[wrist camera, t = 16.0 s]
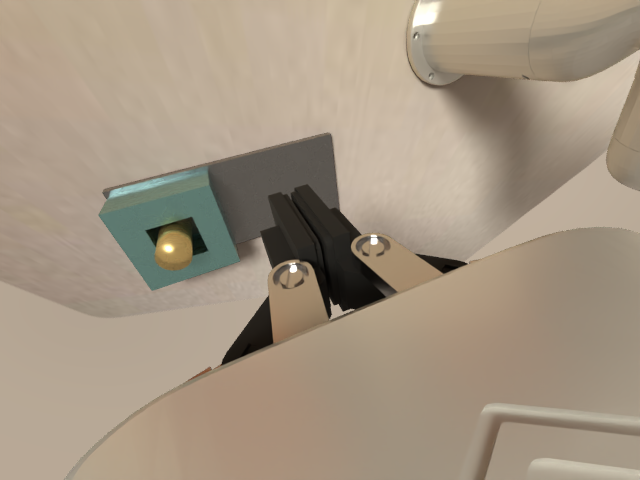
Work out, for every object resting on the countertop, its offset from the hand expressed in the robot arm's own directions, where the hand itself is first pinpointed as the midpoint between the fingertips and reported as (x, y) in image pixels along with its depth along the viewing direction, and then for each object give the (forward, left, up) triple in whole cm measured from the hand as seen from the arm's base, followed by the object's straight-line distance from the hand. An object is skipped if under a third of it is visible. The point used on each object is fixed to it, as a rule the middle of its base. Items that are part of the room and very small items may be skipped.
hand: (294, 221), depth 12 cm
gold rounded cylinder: (+10, +11, -26) cm, 30 cm away
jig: (+2, +11, -27) cm, 29 cm away
